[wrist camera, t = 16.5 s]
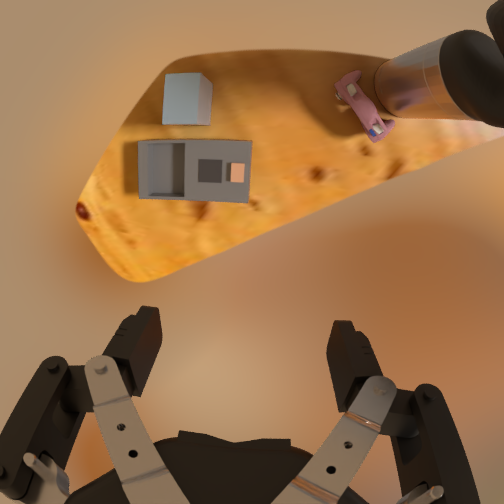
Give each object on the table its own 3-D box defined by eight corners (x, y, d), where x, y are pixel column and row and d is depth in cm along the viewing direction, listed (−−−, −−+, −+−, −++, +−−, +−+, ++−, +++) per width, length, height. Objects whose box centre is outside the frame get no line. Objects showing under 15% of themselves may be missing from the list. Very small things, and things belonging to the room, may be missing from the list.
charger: (213, 83, 34) (200, 72, 27) (210, 125, 37) (196, 124, 29) (184, 84, 34) (165, 74, 27) (181, 125, 37) (162, 124, 29)
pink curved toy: (332, 82, 35) (325, 87, 30) (358, 66, 32) (355, 68, 27) (371, 137, 38) (370, 152, 33) (396, 124, 35) (400, 137, 30)
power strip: (252, 140, 38) (251, 141, 34) (249, 197, 41) (247, 204, 37) (147, 139, 38) (136, 141, 34) (148, 193, 41) (137, 199, 37)
